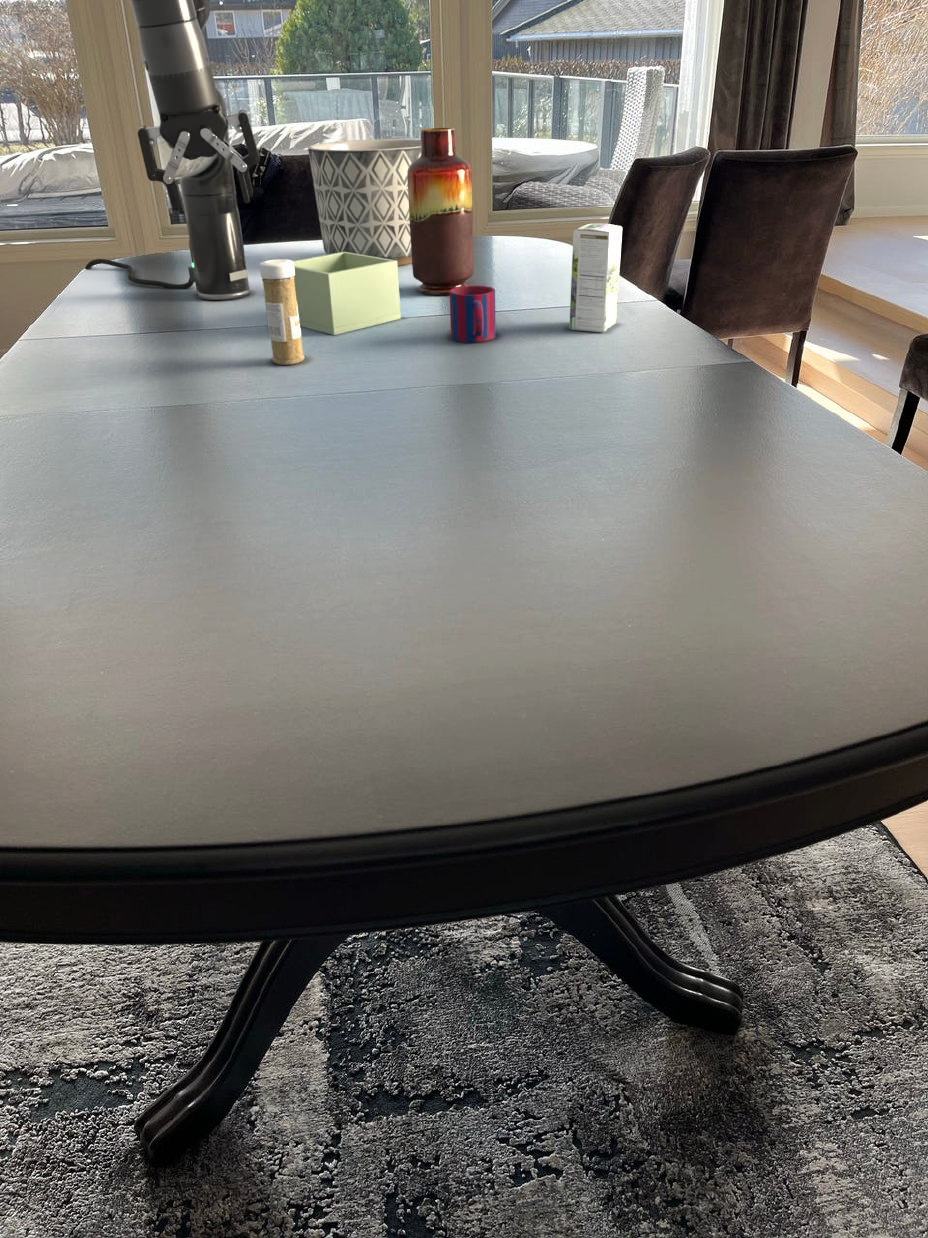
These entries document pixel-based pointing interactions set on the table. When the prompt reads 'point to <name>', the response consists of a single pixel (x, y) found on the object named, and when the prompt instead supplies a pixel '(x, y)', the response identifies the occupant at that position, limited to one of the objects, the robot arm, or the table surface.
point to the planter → (364, 196)
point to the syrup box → (595, 277)
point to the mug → (472, 313)
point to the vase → (440, 214)
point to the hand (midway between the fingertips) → (214, 206)
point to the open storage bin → (346, 292)
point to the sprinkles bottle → (282, 311)
